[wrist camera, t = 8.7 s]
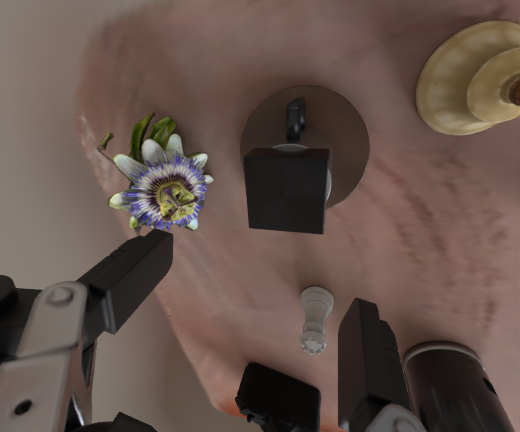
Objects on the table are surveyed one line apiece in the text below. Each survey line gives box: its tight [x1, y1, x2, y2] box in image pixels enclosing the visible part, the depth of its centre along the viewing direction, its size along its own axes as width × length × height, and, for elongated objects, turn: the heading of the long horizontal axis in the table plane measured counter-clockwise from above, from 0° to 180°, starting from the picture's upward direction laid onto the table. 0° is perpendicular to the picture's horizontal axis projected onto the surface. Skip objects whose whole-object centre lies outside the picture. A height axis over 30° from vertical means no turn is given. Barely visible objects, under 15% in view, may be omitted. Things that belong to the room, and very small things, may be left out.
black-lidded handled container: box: [243, 97, 333, 234], centre depth 22 cm, size 9×6×10 cm
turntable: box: [241, 86, 370, 210], centre depth 27 cm, size 13×13×1 cm
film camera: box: [235, 363, 321, 432], centre depth 46 cm, size 15×10×9 cm, turn 74°
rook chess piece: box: [299, 286, 334, 355], centre depth 33 cm, size 4×4×8 cm
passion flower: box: [97, 112, 214, 235], centre depth 29 cm, size 11×11×12 cm
